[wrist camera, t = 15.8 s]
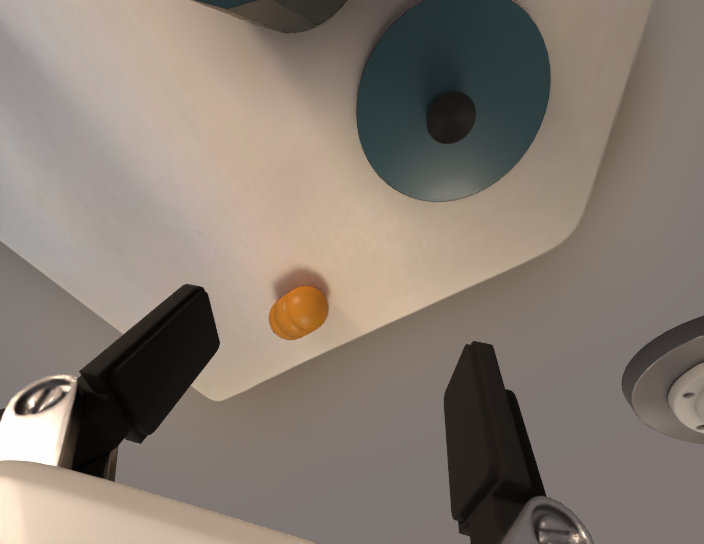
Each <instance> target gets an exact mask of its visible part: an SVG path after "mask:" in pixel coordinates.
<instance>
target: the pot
mask: <svg viewBox="0 0 704 544" xmlns="http://www.w3.org/2000/svg"><path fill="white" fill-rule="evenodd" d="M192 1H195V2H197V3H200V4H203V5H205V6H208V7H210V8H213V9H216V10H218V11H221V12H224V13H226V14H229V15H232V16H234V17H237V18H239V19H242V20H245V21H247V22H250V23H253V24H255V25H258V26H262V27H265V28H269V29H272V30H275V31H279V32H282V33H295V32H302V31H306V30H309V29H312V28H315V27H317V26H319V25H320V24H322V23H324V22H325V21H327V20H328V19H329V18H331V17H332V16H333V15H334V14H335V13H336V12H337V11H338V10H339V9H340V8H341V7H342V6H343V5H344V4H345V2H346V1H347V0H192Z"/></svg>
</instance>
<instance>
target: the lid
mask: <svg viewBox="0 0 704 544" xmlns="http://www.w3.org/2000/svg"><path fill="white" fill-rule="evenodd" d="M549 92H550V64H549V58H548V52H547V49H546V46H545V43H544V40H543V37H542V36H541V34H540V32H539V30H538V28H537V26H536V24H535V23H534V22H533V20H532V19H531V18H530V16H529V15H528V14H527V13H526V12H525V11H524V10H523V9H522V8H521V7H519V6H518V5H517V4H516V3H514V2H512V1H511V0H424V1H422V2H420V3H418V4H417V5H416V6H414V7H413V8H411V9H410V10H408V11H407V12H405V13H404V14H403V15H402V16H401V17H400V18H399V19H398V20H397V21H395V22H394V23H393V25H392V26H391V27H390V28H389V29H388V30H387V31H386V33H385V34H384V35H383V36H382V38H381V39H380V41H379V42H378V44H377V45H376V47H375V48H374V50H373V52H372V54H371V56H370V58H369V60H368V62H367V65H366V67H365V70H364V72H363V75H362V79H361V82H360V86H359V91H358V98H357V112H356V115H357V128H358V133H359V138H360V142H361V145H362V148H363V151H364V153H365V155H366V157H367V159H368V161H369V163H370V164H371V166H372V168H373V169H374V170H375V172H376V173H377V174H378V175H379V177H380V178H381V179H383V180H384V181H385V182H386V183H387V184H388V185H389V186H391V187H392V188H393V189H395V190H397V191H398V192H400V193H402V194H404V195H406V196H409V197H412V198H415V199H419V200H423V201H432V202H445V201H452V200H457V199H461V198H465V197H468V196H471V195H473V194H476V193H478V192H480V191H482V190H484V189H486V188H488V187H489V186H491V185H492V184H494V183H495V182H497V181H498V180H499V179H501V178H502V177H503V176H504V175H505V174H507V173H508V172H509V171H510V170H511V169H512V168H513V167H514V166H515V165H516V164H517V163H518V162H519V160H520V159H521V158H522V156H523V155H524V154H525V153H526V151H527V150H528V148H529V147H530V145H531V143H532V142H533V140H534V139H535V136H536V134H537V132H538V130H539V128H540V126H541V123H542V121H543V118H544V115H545V112H546V108H547V104H548V99H549Z"/></svg>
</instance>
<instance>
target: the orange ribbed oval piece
mask: <svg viewBox="0 0 704 544" xmlns="http://www.w3.org/2000/svg"><path fill="white" fill-rule="evenodd" d="M328 309H329V308H328V302H327V299H326V297H325V296H324V294H323V293H322V292H321V291H319V290H318V289H316V288H314V287H310V286H301V287H297V288H295V289H293V290H292V291H290V292H289V293H287V294H286V295H284V296H283V297H281V298H280V299H279V300H277V301H276V302H275V303H274V304H273V306H272V308H271V310H270V313H269V323H270V327H271V329H272V330H273V333H275V334H276V335H278V336H279V337H281V338H283V339H286V340H295V339H299V338H301V337H303V336H305V335H307V334H309V333H311V332H312V331H314V330H316V329H318V328H319V327H320V326H321V325H322V324H323V323H324V322H325V320H326V318H327V315H328Z"/></svg>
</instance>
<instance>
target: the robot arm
mask: <svg viewBox="0 0 704 544" xmlns="http://www.w3.org/2000/svg"><path fill="white" fill-rule="evenodd" d="M219 345H220V341H219V337H218V333H217V329H216V325H215V321H214V317H213V313H212V309H211V305H210V301H209V297H208V293H207V292H205V290H204V288H203V287H200V286H195V285H190V284H185V285H183V286H182V287H180V288H179V289H178V290H177V291H176V292H174V293H173V294H172V295H171V296H169V297H168V298H167V299H166V300H165V301H163V302H162V303H161V304H160V305H159V306H157V307H156V308H155V309H154V310H153V311H151V312H150V313H149V314H148V315H147V316H145V317H144V318H143V319H142V320H141V321H139V322H138V323H137V324H136V325H135V326H133V327H132V328H131V329H130V330H128V331H127V332H126V333H125V334H124V335H122V336H121V337H120V338H119V339H118V340H116V341H115V342H114V343H113V344H112V345H110V346H109V347H108V348H107V349H106V350H104V351H103V352H102V353H101V354H100V355H99V356H97V357H96V358H95V359H94V360H92V361H91V362H90V363H89V364H88V365H86V366H85V367H84V368H83V369H82V370H80V371H79V372H80V373H81V376H80V377H79V378H78V379H76V378H75V377H74V376H72V375H69V374H56V375H51V376H48V377H45V378H42V379H39V380H37V381H36V382H34V383H32V384H30V385H28V386H27V387H25V388H24V389H22V390H21V391H20V392H18V393H17V394H16V395H15V396H14V397H13V398H12V399H11V401H10V402H9V404H8V405H7V407H6V408H5V409H1V410H0V544H317V543H314V542H311V541H308V540H304V539H301V538H298V537H295V536H291V535H288V534H285V533H282V532H279V531H275V530H272V529H269V528H265V527H262V526H259V525H255V524H252V523H249V522H246V521H242V520H239V519H236V518H232V517H229V516H226V515H223V514H219V513H216V512H213V511H209V510H206V509H203V508H199V507H196V506H192V505H189V504H186V503H183V502H179V501H176V500H173V499H169V498H166V497H163V496H159V495H156V494H153V493H149V492H146V491H143V490H139V489H136V488H132V487H129V486H126V485H122V484H119V483H116V482H115V473H116V463H117V454H118V445H119V444H120V443H121V441H122V440H123V439H124V438H125V439H126V440H129V441H132V442H136V443H140V444H141V443H142V442H143V440H144V439H145V438H146V437H147V435H150V434H152V433H153V432H154V431H155V430H156V429H157V428H158V427H159V425H160V424H161V423H162V421H163V420H164V419H165V417H166V416H167V415H168V413H169V412H170V411H171V410H172V408H173V407H174V406H175V405H176V403H177V402H178V401H179V399H180V398H181V397H182V395H183V394H184V393H185V392H186V390H187V389H188V388H189V387H190V385H191V384H192V383H193V381H194V380H195V379H196V378H197V376H198V375H199V374H200V372H201V371H202V370H203V369H204V367H205V366H206V365H207V363H208V362H209V361H210V360H211V358H212V357H213V356H214V354H215V353H216V352H217V350H218V348H219ZM668 405H669V407H670V409H671V411H672V412H673V413H674V414H675V416H676V417H677V418H678V420H679V421H680V422H682V423H683V424H684V425H685V426H687V427H689V428H690V429H692V430H694V431H697V432H700V433H703V434H704V362H702V363H700V364H698V365H696V366H695V367H693V368H692V369H690V370H688V371H687V372H685V373H684V374H683V375H682V376H681V377H680V378H679V379H677V380H676V382H675V383H674V385H673V386H672V387H671V389H670V392H669V395H668ZM444 413H445V426H446V441H447V456H448V470H449V484H450V499H451V512H452V517H453V519H454V520H457V521H458V525H459V533H460V534H463V535H467V536H470V540H471V544H594V542H593V540H592V537H591V535H590V533H589V532H588V530H587V529H586V528H585V526H584V524H583V523H582V522H581V521H580V519H579V518H578V517H577V516H576V515H575V514H574V513H573V512H572V511H571V510H570V509H568V508H567V507H566V506H565V505H563V504H562V503H560V502H558V501H556V500H554V499H552V498H550V497H546V493H545V490H544V487H543V484H542V480H541V477H540V474H539V470H538V467H537V464H536V460H535V457H534V454H533V451H532V448H531V444H530V441H529V438H528V434H527V431H526V428H525V425H524V421H523V418H522V414H521V412H520V408H519V405H518V401H517V399H516V396H515V394H514V393H513V392H512V391H510V390H506V389H505V387H504V384H503V380H502V377H501V373H500V369H499V366H498V362H497V358H496V355H495V351H494V348H493V346H492V345H491V344H486V343H481V342H475V341H473V342H472V343H471V345H468V344H466V345H465V347H464V349H463V351H462V354H461V356H460V359H459V361H458V364H457V366H456V368H455V370H454V373H453V375H452V377H451V380H450V382H449V384H448V387H447V389H446V391H445V395H444Z"/></svg>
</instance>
